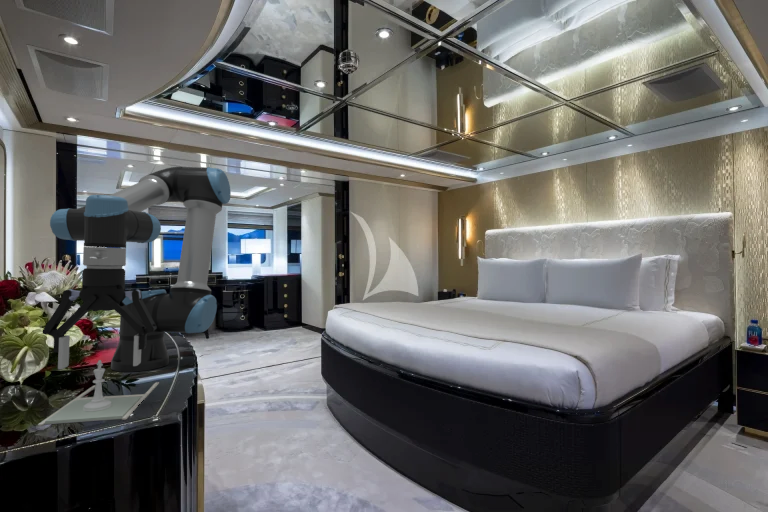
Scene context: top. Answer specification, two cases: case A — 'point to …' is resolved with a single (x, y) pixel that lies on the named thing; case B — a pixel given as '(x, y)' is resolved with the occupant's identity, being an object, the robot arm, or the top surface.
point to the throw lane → (118, 410)
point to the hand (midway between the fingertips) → (101, 366)
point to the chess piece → (98, 392)
